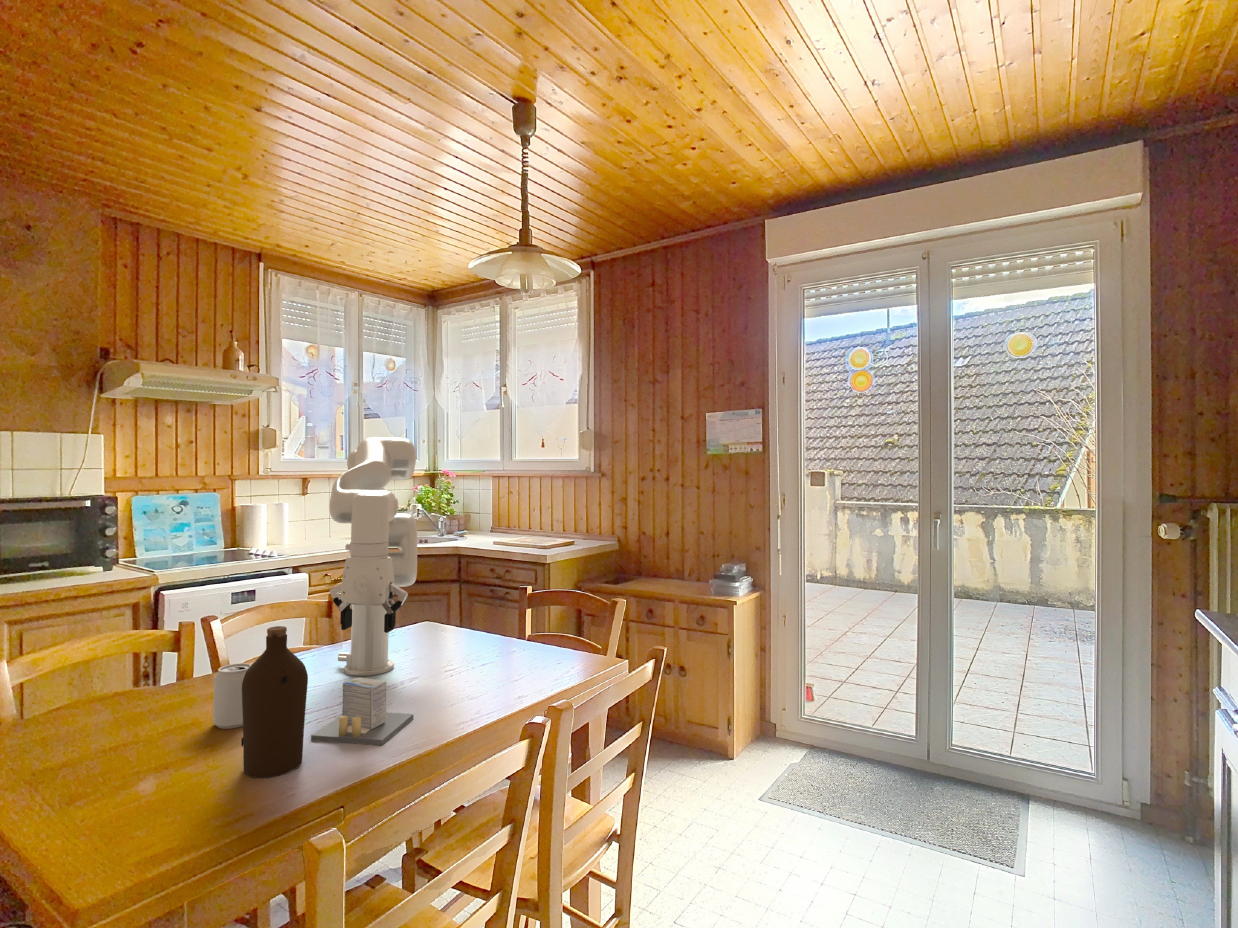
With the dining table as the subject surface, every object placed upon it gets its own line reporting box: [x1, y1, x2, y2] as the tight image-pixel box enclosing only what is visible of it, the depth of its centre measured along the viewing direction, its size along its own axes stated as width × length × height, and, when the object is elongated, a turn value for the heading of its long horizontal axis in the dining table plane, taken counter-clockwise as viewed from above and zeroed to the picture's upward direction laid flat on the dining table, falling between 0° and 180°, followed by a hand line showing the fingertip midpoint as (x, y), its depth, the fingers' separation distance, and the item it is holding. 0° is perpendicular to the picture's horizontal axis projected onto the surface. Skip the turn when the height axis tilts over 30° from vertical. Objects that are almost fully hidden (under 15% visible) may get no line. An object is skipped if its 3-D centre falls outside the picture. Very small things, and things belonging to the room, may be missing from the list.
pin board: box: [310, 711, 414, 746], centre depth 134 cm, size 15×14×4 cm
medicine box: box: [341, 676, 387, 729], centre depth 134 cm, size 8×4×9 cm, turn 69°
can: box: [212, 662, 252, 730], centre depth 136 cm, size 8×8×12 cm
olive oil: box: [240, 625, 309, 779], centre depth 117 cm, size 11×11×25 cm
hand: (367, 629), depth 138 cm, fingers open, 9 cm apart
